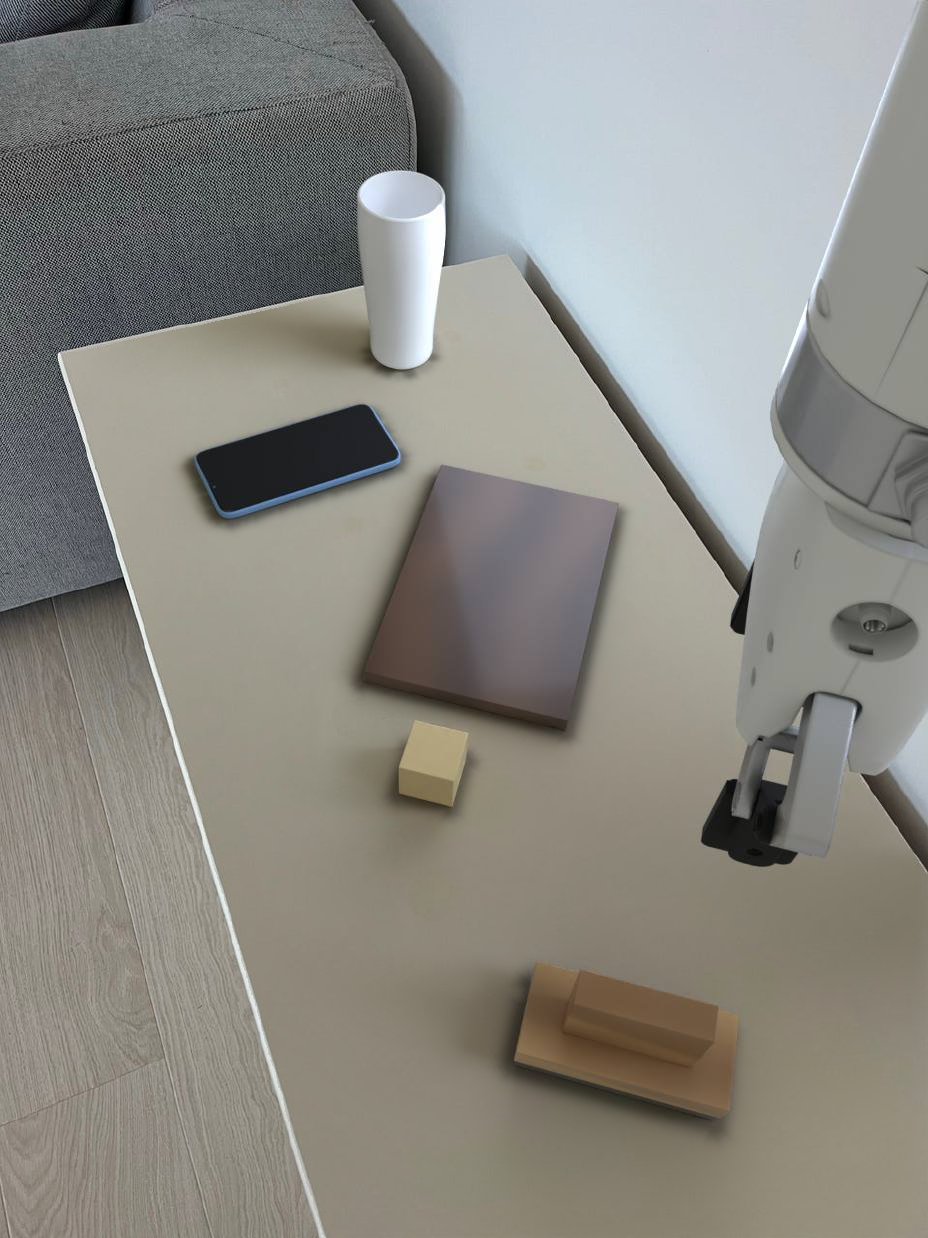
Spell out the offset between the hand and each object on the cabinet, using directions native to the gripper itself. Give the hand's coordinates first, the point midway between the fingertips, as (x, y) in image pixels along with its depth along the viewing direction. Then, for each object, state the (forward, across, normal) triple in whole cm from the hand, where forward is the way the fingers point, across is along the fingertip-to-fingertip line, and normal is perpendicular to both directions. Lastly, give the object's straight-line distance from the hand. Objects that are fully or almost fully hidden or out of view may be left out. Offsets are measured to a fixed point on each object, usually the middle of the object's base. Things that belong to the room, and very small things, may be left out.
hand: (756, 733), depth 41 cm
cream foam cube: (+26, +8, +15) cm, 31 cm away
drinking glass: (+26, +47, +28) cm, 61 cm away
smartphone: (+26, +32, +32) cm, 52 cm away
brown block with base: (+26, -5, 0) cm, 27 cm away
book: (+26, +24, +14) cm, 38 cm away
